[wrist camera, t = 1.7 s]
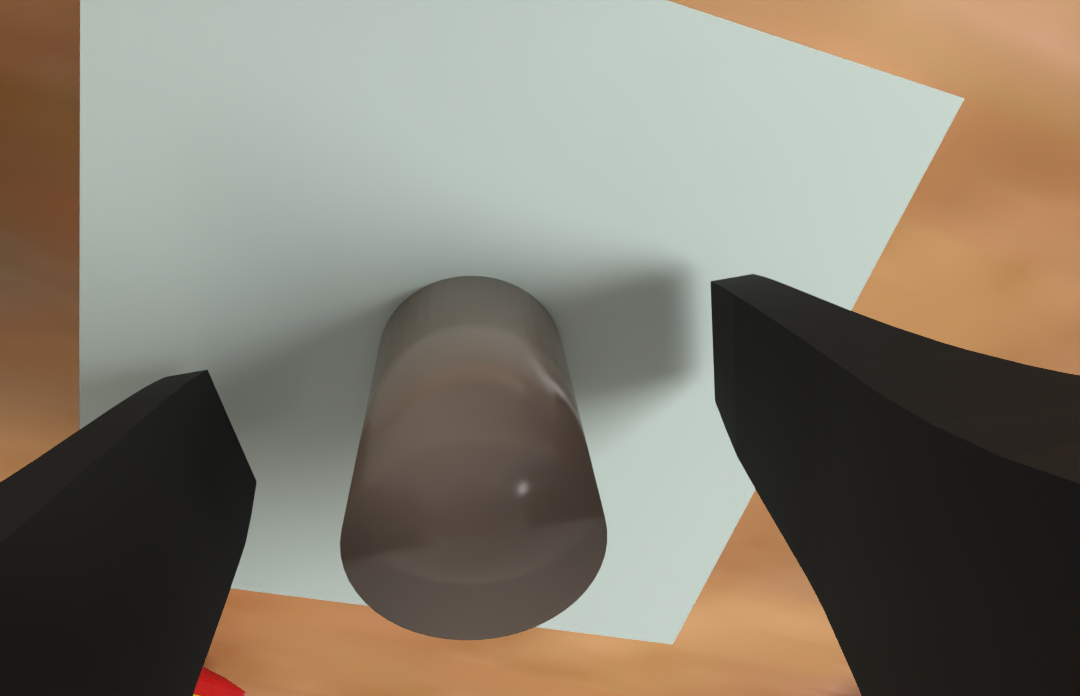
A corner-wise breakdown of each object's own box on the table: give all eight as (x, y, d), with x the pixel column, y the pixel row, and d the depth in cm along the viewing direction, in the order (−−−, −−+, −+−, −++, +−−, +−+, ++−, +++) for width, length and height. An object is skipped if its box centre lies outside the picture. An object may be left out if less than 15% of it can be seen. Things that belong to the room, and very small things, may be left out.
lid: (931, 88, 11) (1234, 183, 6) (663, 612, 16) (737, 860, 11) (112, -183, 8) (-241, -305, 4) (99, 535, 13) (-70, 812, 9)
